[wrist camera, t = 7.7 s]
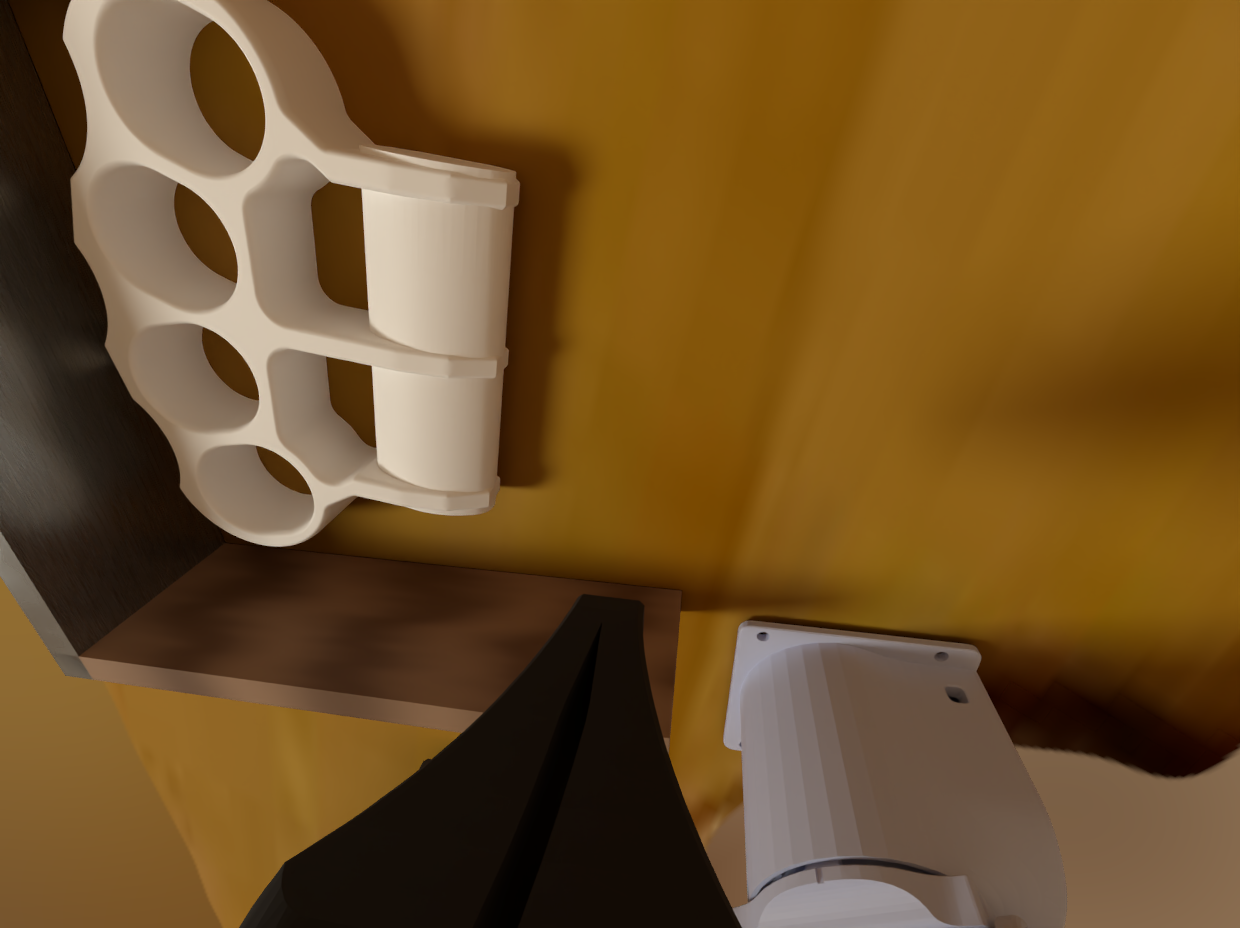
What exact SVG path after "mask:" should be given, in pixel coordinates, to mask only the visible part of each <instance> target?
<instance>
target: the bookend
mask: <svg viewBox="0 0 1240 928" xmlns="http://www.w3.org/2000/svg"><path fill="white" fill-rule="evenodd" d="M75 172H76V171H75V168H74V166H73V163H72V161H71V158H70V156H69V153H68V151H67V148H66V146H65V143H64V141H63V139H62V136H61V134H60V131H59V129H58V126H57V124H56V121H55V119H54V116H53V114H52V111H51V109H50V106H49V104H48V101H47V99H46V96H45V94H44V91H43V89H42V86H41V84H40V81H39V79H38V76H37V74H36V71H35V69H34V66H33V64H32V61H31V59H30V56H29V54H28V51H27V49H26V46H25V44H24V41H23V39H22V36H21V34H20V31H19V29H18V26H17V24H16V21H15V19H14V16H13V14H12V11H11V9H10V6H9V4H8V2H7V0H0V576H1V578H2V580H3V581H4V583H5V584H6V586H7V587H8V589H9V590H10V592H11V593H12V595H13V596H14V598H15V599H16V601H17V602H18V604H19V605H20V607H21V609H22V610H23V611H24V613H25V615H26V616H27V618H28V619H29V621H30V622H31V624H32V625H33V627H34V628H35V630H36V631H37V633H38V634H39V636H40V638H41V639H42V640H43V642H44V644H45V645H46V647H47V648H48V650H49V651H50V653H51V654H52V656H53V657H54V659H55V660H56V662H57V664H58V665H59V666H60V668H61V669H62V671H63V673H64V674H65V675H66V676H72V677H79V678H86V679H92V677H91V676H90V674H89V672H88V671H87V669H86V668H85V666H83V663H82V661H80V658H79V659H76V657H73V656H77V658H78V656H80V655H81V654H82V653H84V652H85V651H86V650H88V649H89V648H90V647H91V646H93V645H94V644H95V643H97V642H98V641H99V640H100V639H102V638H103V637H104V636H106V635H107V634H108V633H109V632H111V631H112V630H113V629H115V628H116V627H117V626H119V625H120V624H121V623H122V622H124V621H125V620H126V619H128V618H129V617H130V616H131V615H133V614H134V613H135V612H137V611H138V610H139V609H140V608H142V607H143V606H144V605H146V604H147V603H148V602H149V601H151V600H152V599H153V598H155V597H156V596H157V595H159V594H160V593H161V592H162V591H164V590H165V589H166V588H168V587H169V586H170V585H171V584H173V583H174V582H175V581H177V580H178V579H179V578H180V577H182V576H183V575H184V574H186V573H187V572H188V571H190V570H191V569H192V568H193V567H195V566H196V565H197V564H199V563H200V562H201V561H202V560H204V559H205V558H206V557H208V556H209V555H210V554H211V553H213V552H214V551H215V550H217V549H218V548H219V547H220V546H222V545H223V544H224V543H225V542H224V540H223V537H222V535H221V532H220V530H219V527H218V526H217V525H216V524H214V523H213V522H212V521H210V520H209V519H208V518H207V517H205V516H204V515H203V514H202V513H201V512H200V511H199V510H198V509H197V508H196V507H195V506H194V505H193V504H192V503H191V502H190V501H189V499H188V498H187V497H186V496H185V494H184V493H183V492H182V490H181V489H180V471H179V465H178V462H177V459H176V456H175V453H174V451H173V449H172V447H171V445H170V443H169V441H168V439H167V437H166V436H165V434H164V433H163V431H162V430H161V428H160V427H159V426H158V424H157V423H156V422H155V421H154V419H153V418H152V417H151V416H150V415H149V414H148V413H147V412H146V411H145V410H144V409H143V408H142V407H141V406H140V405H139V404H138V403H137V402H136V401H135V400H133V399H132V397H131V395H130V393H129V391H128V389H127V387H126V385H125V383H124V382H123V380H122V378H121V376H120V374H119V372H118V370H117V368H116V366H115V364H114V362H113V361H112V359H111V357H110V355H109V353H108V351H107V349H106V347H105V341H106V337H107V329H108V320H107V311H106V306H105V302H104V298H103V295H102V292H101V289H100V287H99V284H98V282H97V280H96V277H95V275H94V273H93V271H92V270H91V268H90V266H89V264H88V262H87V261H86V259H85V258H84V256H83V254H82V253H81V251H80V250H79V249H78V247H77V246H76V245H75V243H74V231H73V214H72V198H71V181H70V179H71V177H72V176H73V175H74V174H75ZM71 657H73V659H72V658H71ZM80 662H81V663H80ZM73 663H75V664H73ZM79 664H80V666H79ZM81 665H82V666H81Z"/></svg>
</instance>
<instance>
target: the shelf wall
mask: <svg viewBox="0 0 1240 928" xmlns="http://www.w3.org/2000/svg"><path fill="white" fill-rule="evenodd" d="M582 594H589V595H597V596H605V597H614V598H622V599H631V600H639V601H641V602H642V603H643V605H644V606H645V608H644V628H643V640H644V650H645V658H646V664H647V670H648V675H649V681H650V686H651V691H652V696H653V700H654V704H655V708H656V712H657V716H658V720H659V724H660V728H661V731H662V735H663V738H664V742H665V745H666V748H667V751H668V754H669V743H670V731H671V719H672V707H673V695H674V683H675V670H676V658H677V646H678V634H679V622H680V610H681V596H682V591H681V590H671V589H662V588H652V587H642V586H633V585H623V584H614V583H604V582H594V581H585V580H575V579H566V578H556V577H546V576H537V575H527V574H518V573H508V572H498V571H489V570H479V569H469V568H460V567H450V566H441V565H431V564H421V563H412V562H402V561H393V560H383V559H373V558H364V557H354V556H344V555H335V554H325V553H316V552H306V551H296V550H287V549H277V548H268V547H258V546H248V545H239V544H229V543H224V544H223V545H222V546H220V547H219V548H218V549H217V550H215V551H214V552H213V553H211V554H210V555H209V556H208V557H206V558H205V559H204V560H202V561H201V562H200V563H199V564H197V565H196V566H195V567H193V568H192V569H191V570H190V571H188V572H187V573H186V574H184V575H183V576H182V577H180V578H179V579H178V580H177V581H175V582H174V583H173V584H171V585H170V586H169V587H168V588H166V589H165V590H164V591H162V592H161V593H160V594H159V595H157V596H156V597H155V598H153V599H152V600H151V601H149V602H148V603H147V604H146V605H144V606H143V607H142V608H140V609H139V610H138V611H137V612H135V613H134V614H133V615H131V616H130V617H129V618H128V619H126V620H125V621H124V622H122V623H121V624H120V625H119V626H117V627H116V628H115V629H113V630H112V631H111V632H109V633H108V634H107V635H106V636H104V637H103V638H102V639H100V640H99V641H98V642H97V643H95V644H94V645H93V646H91V647H90V648H89V649H88V650H86V651H85V652H84V653H82V654H81V655H80V656H78V658H77V656H73V657H76V659H79V658H80V661H82V663H83V666H85V668H86V669H87V671H88V672H89V674H90V676H91V677H92V679H93V680H100V681H107V682H113V683H120V684H127V685H134V686H141V687H148V688H155V689H162V690H169V691H176V692H183V693H190V694H197V695H204V696H211V697H218V698H224V699H231V700H238V701H245V702H252V703H259V704H266V705H273V706H280V707H287V708H294V709H301V710H308V711H315V712H322V713H328V714H335V715H342V716H349V717H356V718H363V719H370V720H377V721H384V722H391V723H398V724H405V725H412V726H419V727H426V728H433V729H439V730H446V731H453V732H460V733H463V732H464V731H465V730H466V729H467V728H468V727H469V726H470V725H471V724H472V723H473V722H474V721H475V720H476V719H478V718H479V717H480V716H481V715H482V714H483V713H484V712H485V711H486V710H487V709H488V708H489V707H490V706H491V705H492V704H493V703H494V702H495V701H496V699H497V698H498V697H499V696H500V695H501V694H502V693H503V692H504V691H505V690H506V689H507V688H508V686H509V685H510V684H511V683H512V682H513V681H514V680H515V679H516V678H517V677H518V675H519V674H520V673H521V672H522V671H523V670H524V669H525V668H526V666H527V665H528V664H529V663H530V662H531V660H532V659H533V658H534V657H535V655H536V654H537V653H538V652H539V650H540V649H541V648H542V647H543V646H544V644H545V643H546V642H547V641H548V639H549V638H550V637H551V635H552V634H553V633H554V631H555V630H556V629H557V627H558V626H559V625H560V623H561V622H562V620H563V619H564V618H565V616H566V615H567V613H568V612H569V610H570V609H571V607H572V606H573V604H574V603H575V601H576V599H577V598H578V597H579V596H580V595H582ZM73 657H71V658H72V659H73ZM80 663H81V662H80ZM73 664H75V663H73ZM79 666H80V664H79ZM81 666H82V665H81Z"/></svg>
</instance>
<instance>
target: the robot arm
mask: <svg viewBox="0 0 1240 928" xmlns="http://www.w3.org/2000/svg"><path fill="white" fill-rule="evenodd" d="M644 608H645V606H644V605H643V603H642V602H641V601H639V600H631V599H622V598H614V597H605V596H597V595H589V594H582V595H580V596H579V597H578V598H577V599H576V601H575V603H574V604H573V606H572V607H571V609H570V610H569V612H568V613H567V615H566V616H565V618H564V619H563V620H562V622H561V623H560V625H559V626H558V627H557V629H556V630H555V631H554V633H553V634H552V635H551V637H550V638H549V639H548V641H547V642H546V643H545V644H544V646H543V647H542V648H541V649H540V650H539V652H538V653H537V654H536V655H535V657H534V658H533V659H532V660H531V662H530V663H529V664H528V665H527V666H526V668H525V669H524V670H523V671H522V672H521V673H520V674H519V675H518V677H517V678H516V679H515V680H514V681H513V682H512V683H511V684H510V685H509V686H508V688H507V689H506V690H505V691H504V692H503V693H502V694H501V695H500V696H499V697H498V698H497V699H496V701H495V702H494V703H493V704H492V705H491V706H490V707H489V708H488V709H487V710H486V711H485V712H484V713H483V714H482V715H481V716H480V717H479V718H478V719H476V720H475V721H474V722H473V723H472V724H471V725H470V726H469V727H468V728H467V729H466V730H465V731H464V732H463V733H462V734H460V735H459V736H458V737H457V738H456V739H455V740H454V741H452V742H451V743H450V744H449V745H448V746H447V747H446V748H444V749H443V750H442V751H441V752H440V753H439V754H437V755H436V756H435V757H434V758H433V759H432V760H430V761H429V762H428V763H427V764H426V765H424V766H423V767H422V768H421V769H419V770H418V771H417V772H416V773H414V774H413V775H412V776H411V777H409V778H408V779H407V780H405V781H404V782H403V783H401V784H400V785H398V786H397V787H396V788H394V789H393V790H392V791H390V792H389V793H388V794H386V795H385V796H384V797H382V798H381V799H380V800H378V801H377V802H375V803H374V804H373V805H371V806H370V807H369V808H367V809H366V810H365V811H363V812H362V813H360V814H359V815H357V816H356V817H354V818H353V819H352V820H350V821H349V822H347V823H346V824H344V825H342V826H341V827H339V828H338V829H336V830H335V831H333V832H332V833H330V834H328V835H327V836H325V837H324V838H322V839H321V840H319V841H318V842H316V843H315V844H313V845H311V846H310V847H308V848H307V849H305V850H304V851H302V852H301V853H299V854H297V855H296V856H294V857H293V858H291V859H289V860H288V861H286V862H285V863H284V864H283V866H282V867H281V868H280V870H279V871H278V873H277V874H276V875H275V877H274V878H273V879H272V881H271V882H270V883H269V884H268V886H267V887H266V888H265V889H264V891H263V892H262V894H261V895H260V896H259V898H258V899H257V901H256V902H255V904H254V905H253V906H252V908H251V910H250V911H249V913H248V914H247V916H246V918H245V919H244V921H243V922H242V924H241V925H240V927H239V928H1064V925H1065V920H1066V912H1067V889H1066V881H1065V874H1064V868H1063V863H1062V858H1061V854H1060V850H1059V846H1058V843H1057V839H1056V835H1055V832H1054V829H1053V826H1052V823H1051V821H1050V818H1049V815H1048V813H1047V811H1046V809H1045V807H1044V804H1043V802H1042V800H1041V798H1040V796H1039V794H1038V792H1037V790H1036V788H1035V786H1034V784H1033V782H1032V780H1031V778H1030V776H1029V774H1028V772H1027V770H1026V768H1025V766H1024V764H1023V762H1022V760H1021V758H1020V756H1019V755H1018V752H1017V750H1016V749H1015V747H1014V745H1013V743H1012V741H1011V739H1010V737H1009V735H1008V733H1007V731H1006V729H1005V727H1004V725H1003V723H1002V721H1001V719H1000V717H999V715H998V713H997V711H996V709H995V707H994V705H993V703H992V701H991V699H990V697H989V695H988V693H987V691H986V689H985V687H984V685H983V683H982V682H981V680H980V678H979V676H978V674H977V672H976V671H977V669H978V666H979V664H980V662H981V655H980V653H979V651H978V649H977V648H976V647H975V646H974V645H970V644H963V643H954V642H945V641H935V640H926V639H917V638H908V637H899V636H890V635H880V634H871V633H862V632H853V631H844V630H835V629H826V628H816V627H807V626H798V625H789V624H780V623H771V622H761V621H752V620H751V621H745V622H743V623H741V624H740V626H739V628H738V636H737V643H736V650H735V657H734V664H733V671H732V679H731V686H730V693H729V700H728V707H727V714H726V722H725V729H724V744H725V746H726V747H728V748H730V749H733V750H740V751H742V772H743V797H744V821H745V845H746V870H747V893H748V894H747V895H748V903H747V904H744V905H741V906H738V907H733V908H732V907H731V905H730V903H729V901H728V899H727V897H726V895H725V893H724V891H723V889H722V887H721V884H720V883H719V880H718V878H717V876H716V873H715V871H714V869H713V867H712V865H711V863H710V860H709V858H708V856H707V854H706V852H705V849H704V847H703V844H702V842H701V839H700V837H699V835H698V832H697V830H696V827H695V825H694V822H693V820H692V818H691V815H690V813H689V810H688V808H687V805H686V803H685V800H684V798H683V795H682V792H681V789H680V787H679V784H678V781H677V778H676V776H675V773H674V770H673V767H672V764H671V761H670V758H669V754H668V751H667V748H666V745H665V742H664V738H663V735H662V731H661V728H660V724H659V720H658V716H657V712H656V708H655V704H654V700H653V696H652V691H651V686H650V681H649V675H648V670H647V664H646V658H645V650H644V640H643V628H644ZM760 632H766V634H759V633H760ZM939 652H943V653H941V654H937V653H939Z"/></svg>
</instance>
